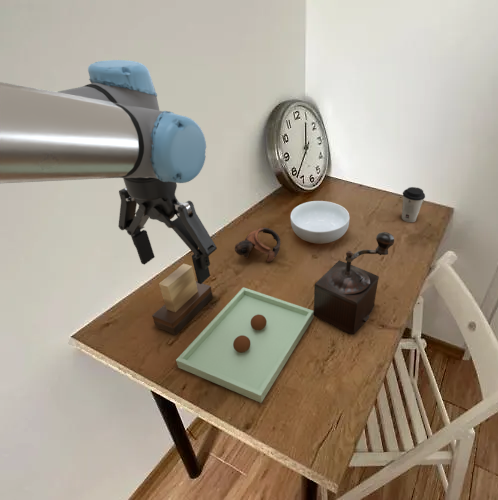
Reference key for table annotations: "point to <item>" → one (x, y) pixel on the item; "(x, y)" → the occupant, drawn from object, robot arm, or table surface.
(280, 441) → the table surface
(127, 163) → the robot arm
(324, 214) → the cereal bowl
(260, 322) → the cork ball
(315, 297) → the manual coffee grinder
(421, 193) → the coffee cup
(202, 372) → the tray
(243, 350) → the cork ball
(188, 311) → the chalkboard eraser
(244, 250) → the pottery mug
